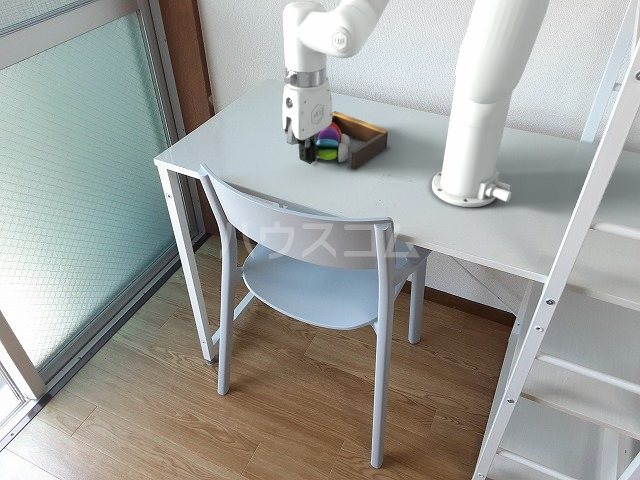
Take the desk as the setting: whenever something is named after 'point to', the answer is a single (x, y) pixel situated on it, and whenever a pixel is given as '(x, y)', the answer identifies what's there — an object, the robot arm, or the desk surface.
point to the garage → (361, 137)
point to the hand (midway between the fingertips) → (307, 160)
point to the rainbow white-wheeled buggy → (332, 144)
